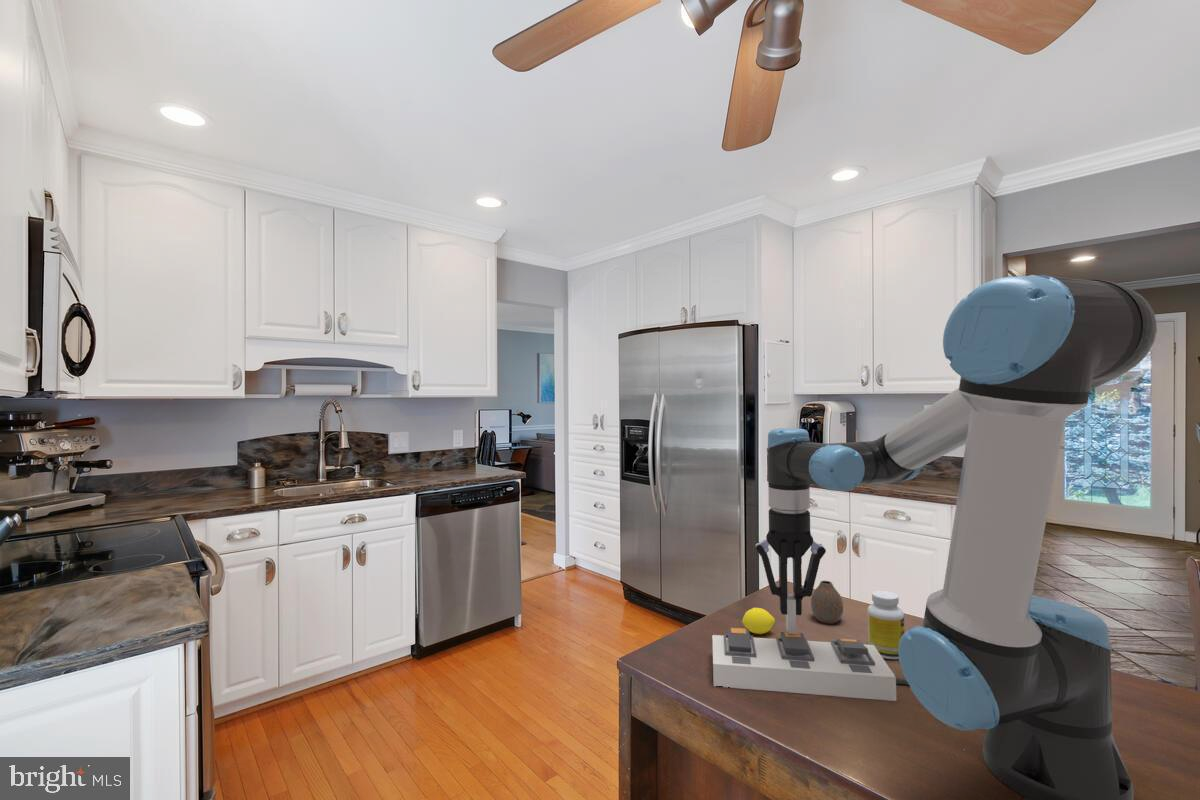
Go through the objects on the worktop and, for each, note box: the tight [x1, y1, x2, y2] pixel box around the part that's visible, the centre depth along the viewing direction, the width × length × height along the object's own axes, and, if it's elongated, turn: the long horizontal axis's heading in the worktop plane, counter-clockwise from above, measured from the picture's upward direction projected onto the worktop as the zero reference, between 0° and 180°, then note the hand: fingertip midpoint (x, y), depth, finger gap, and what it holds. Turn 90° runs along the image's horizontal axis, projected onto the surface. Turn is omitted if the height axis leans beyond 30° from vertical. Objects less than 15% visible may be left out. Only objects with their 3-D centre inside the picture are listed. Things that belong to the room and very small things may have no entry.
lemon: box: [741, 607, 776, 635], centre depth 116 cm, size 7×5×5 cm
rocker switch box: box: [711, 633, 910, 702], centre depth 97 cm, size 12×40×5 cm, turn 79°
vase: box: [810, 580, 844, 625], centre depth 122 cm, size 7×7×9 cm
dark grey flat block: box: [780, 631, 809, 655], centre depth 99 cm, size 6×4×1 cm, turn 169°
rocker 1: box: [727, 626, 751, 653], centre depth 101 cm, size 6×4×1 cm, turn 169°
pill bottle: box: [867, 590, 906, 660], centre depth 106 cm, size 6×6×12 cm
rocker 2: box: [835, 638, 868, 655], centre depth 97 cm, size 6×4×1 cm, turn 168°
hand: (791, 630), depth 102 cm, fingers closed
